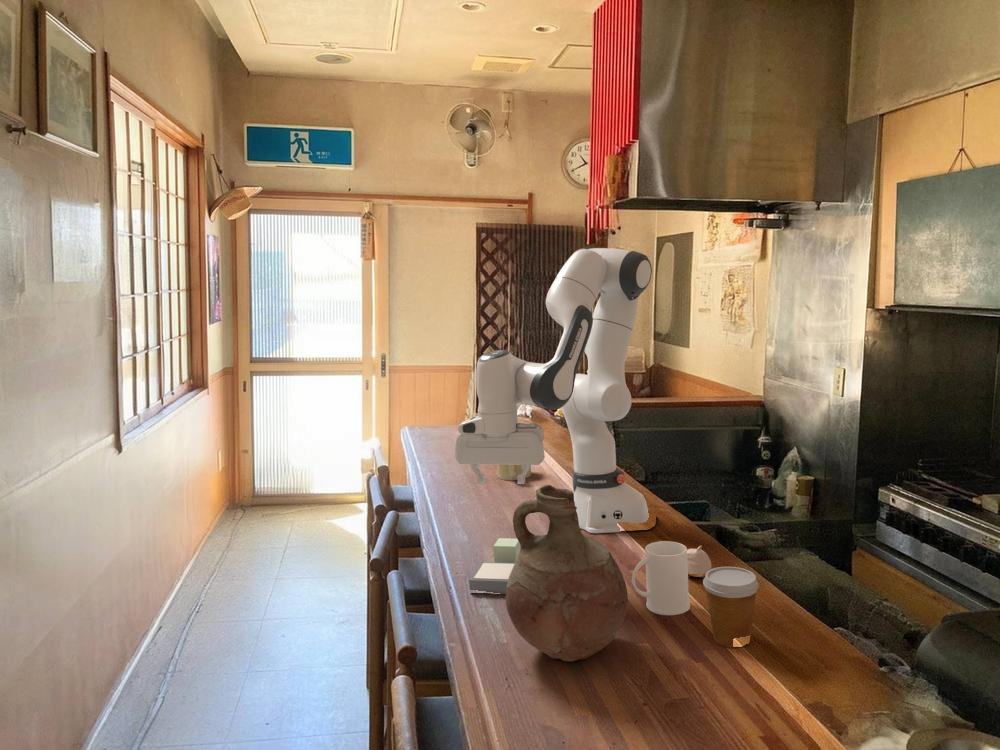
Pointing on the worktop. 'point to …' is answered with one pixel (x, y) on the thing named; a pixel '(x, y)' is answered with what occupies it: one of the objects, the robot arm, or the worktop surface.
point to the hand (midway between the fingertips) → (501, 482)
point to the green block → (506, 550)
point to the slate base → (491, 577)
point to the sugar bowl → (511, 472)
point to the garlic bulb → (698, 561)
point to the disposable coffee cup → (730, 602)
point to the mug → (665, 578)
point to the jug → (563, 582)
